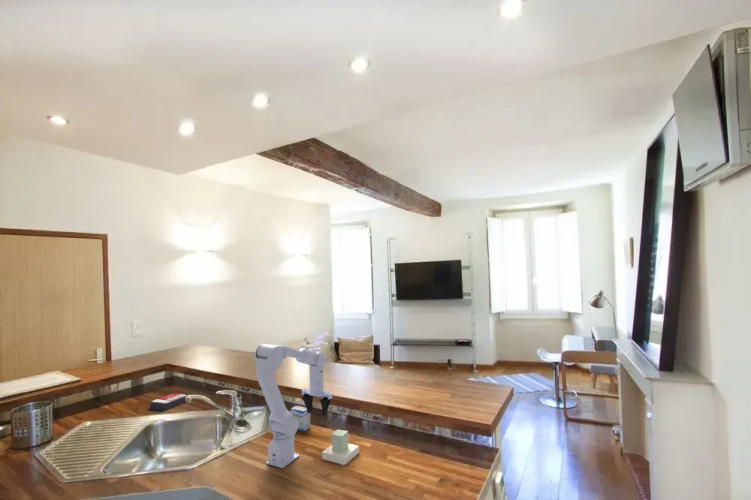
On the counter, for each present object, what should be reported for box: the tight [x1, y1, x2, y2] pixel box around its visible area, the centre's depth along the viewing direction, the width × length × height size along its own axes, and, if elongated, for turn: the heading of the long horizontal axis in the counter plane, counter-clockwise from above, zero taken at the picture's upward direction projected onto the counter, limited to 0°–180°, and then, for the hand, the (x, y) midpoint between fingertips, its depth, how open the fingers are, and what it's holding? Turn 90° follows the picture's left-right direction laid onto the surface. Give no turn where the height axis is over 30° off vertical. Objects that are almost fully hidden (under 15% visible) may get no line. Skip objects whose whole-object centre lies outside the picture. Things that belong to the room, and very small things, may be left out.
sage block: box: [331, 429, 349, 453], centre depth 138 cm, size 4×4×6 cm
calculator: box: [149, 392, 188, 411], centre depth 198 cm, size 11×4×15 cm
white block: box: [321, 442, 360, 466], centre depth 138 cm, size 10×10×3 cm
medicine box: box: [290, 405, 311, 432], centre depth 163 cm, size 8×4×9 cm, turn 62°
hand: (317, 414), depth 152 cm, fingers open, 7 cm apart
